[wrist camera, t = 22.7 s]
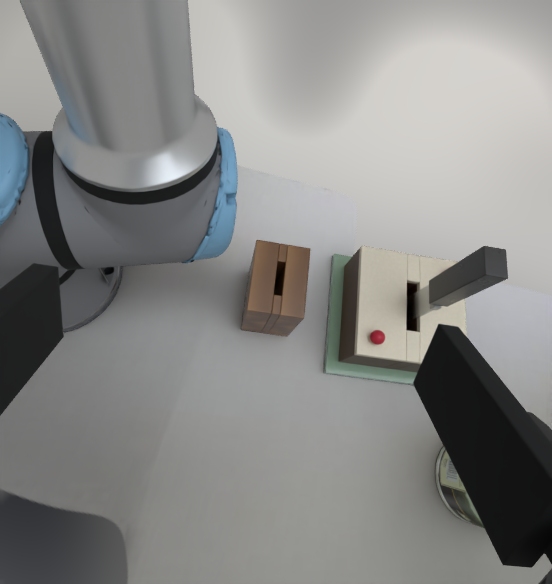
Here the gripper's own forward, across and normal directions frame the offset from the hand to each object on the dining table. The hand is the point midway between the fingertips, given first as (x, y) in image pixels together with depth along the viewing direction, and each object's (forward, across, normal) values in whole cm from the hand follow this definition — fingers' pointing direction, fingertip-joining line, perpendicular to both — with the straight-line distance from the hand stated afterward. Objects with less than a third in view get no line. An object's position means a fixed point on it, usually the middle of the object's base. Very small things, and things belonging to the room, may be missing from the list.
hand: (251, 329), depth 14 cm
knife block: (+33, +4, -17) cm, 38 cm away
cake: (+33, +20, -16) cm, 42 cm away
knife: (+32, +20, -16) cm, 42 cm away
